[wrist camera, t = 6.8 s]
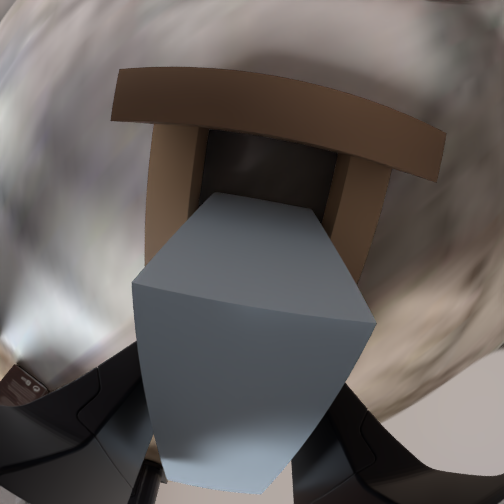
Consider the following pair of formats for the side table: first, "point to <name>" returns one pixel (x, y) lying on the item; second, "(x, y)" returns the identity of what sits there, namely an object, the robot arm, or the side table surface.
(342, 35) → the side table surface
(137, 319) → the gray block
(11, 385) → the box
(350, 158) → the track
